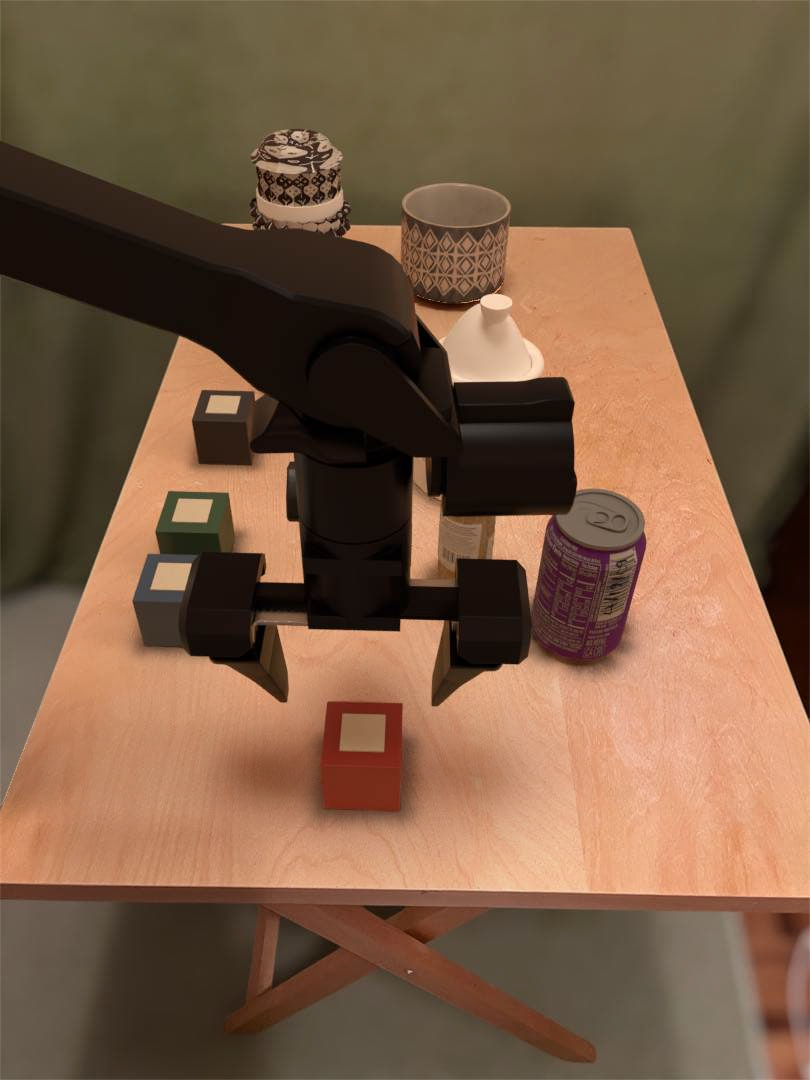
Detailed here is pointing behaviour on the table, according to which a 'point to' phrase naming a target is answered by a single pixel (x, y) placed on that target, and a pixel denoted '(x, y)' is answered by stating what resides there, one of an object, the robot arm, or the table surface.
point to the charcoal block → (224, 427)
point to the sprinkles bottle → (463, 541)
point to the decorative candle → (299, 184)
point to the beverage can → (588, 575)
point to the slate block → (161, 598)
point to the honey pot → (486, 353)
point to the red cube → (362, 755)
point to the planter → (454, 241)
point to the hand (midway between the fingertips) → (359, 698)
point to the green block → (195, 523)
